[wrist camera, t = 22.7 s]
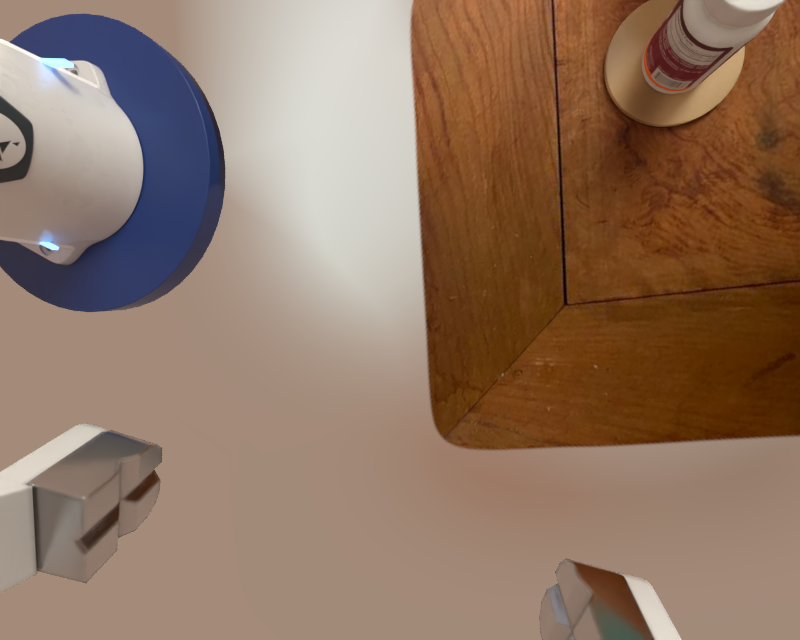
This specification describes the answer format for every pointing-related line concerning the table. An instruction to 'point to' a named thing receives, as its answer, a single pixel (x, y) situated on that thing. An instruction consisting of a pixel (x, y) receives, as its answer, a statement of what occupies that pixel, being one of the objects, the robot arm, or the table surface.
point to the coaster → (633, 88)
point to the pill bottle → (701, 40)
